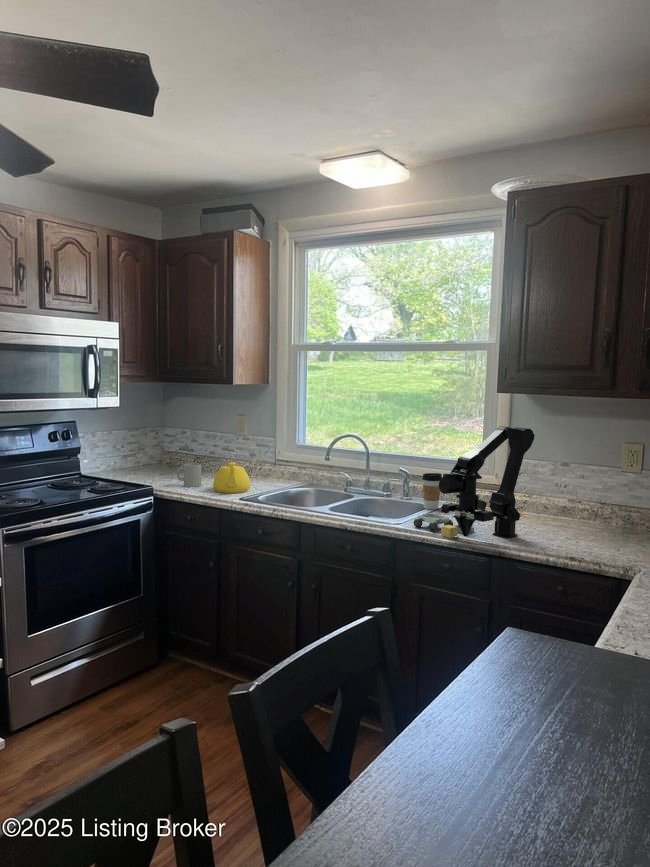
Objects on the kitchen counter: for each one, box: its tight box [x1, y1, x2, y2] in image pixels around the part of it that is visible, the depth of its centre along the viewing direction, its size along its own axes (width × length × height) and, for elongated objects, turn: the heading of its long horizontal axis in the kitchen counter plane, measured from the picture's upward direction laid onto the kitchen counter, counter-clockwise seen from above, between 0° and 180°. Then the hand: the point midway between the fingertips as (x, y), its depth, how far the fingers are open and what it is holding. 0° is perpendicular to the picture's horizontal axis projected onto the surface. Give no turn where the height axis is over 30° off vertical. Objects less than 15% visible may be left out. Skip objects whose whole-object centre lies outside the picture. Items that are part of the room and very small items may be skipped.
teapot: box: [212, 461, 251, 494], centre depth 303 cm, size 25×18×14 cm
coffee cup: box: [421, 472, 443, 510], centre depth 272 cm, size 8×8×15 cm
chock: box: [440, 525, 458, 539], centre depth 224 cm, size 4×4×4 cm
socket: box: [453, 524, 475, 535], centre depth 232 cm, size 6×6×2 cm
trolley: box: [413, 513, 454, 533], centre depth 236 cm, size 11×10×4 cm
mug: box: [176, 462, 202, 488], centre depth 314 cm, size 12×8×11 cm
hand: (465, 536), depth 219 cm, fingers closed
